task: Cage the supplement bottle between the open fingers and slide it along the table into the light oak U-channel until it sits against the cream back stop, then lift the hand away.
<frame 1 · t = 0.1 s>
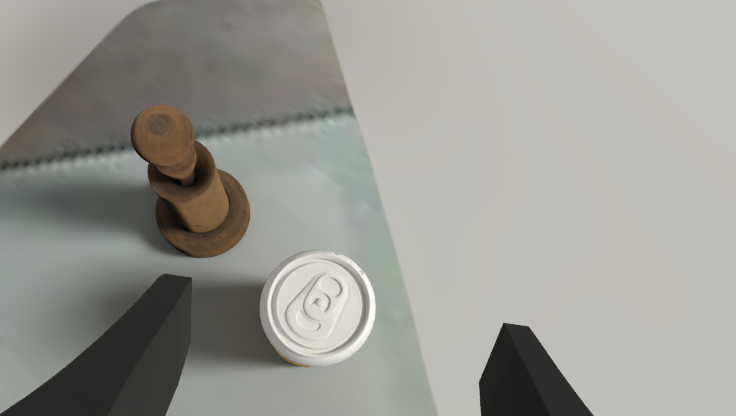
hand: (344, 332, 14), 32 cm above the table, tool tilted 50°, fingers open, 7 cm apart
beer can: (309, 325, 45), on the table
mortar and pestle: (206, 216, 46), on the table
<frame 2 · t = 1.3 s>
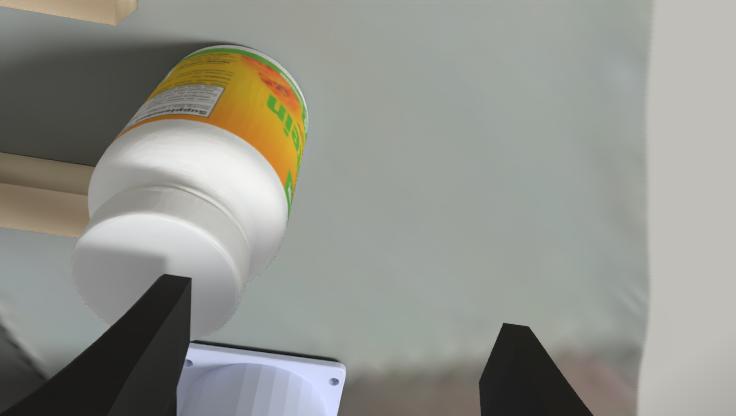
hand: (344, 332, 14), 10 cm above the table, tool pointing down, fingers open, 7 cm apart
supplement bottle: (237, 110, 23), on the table
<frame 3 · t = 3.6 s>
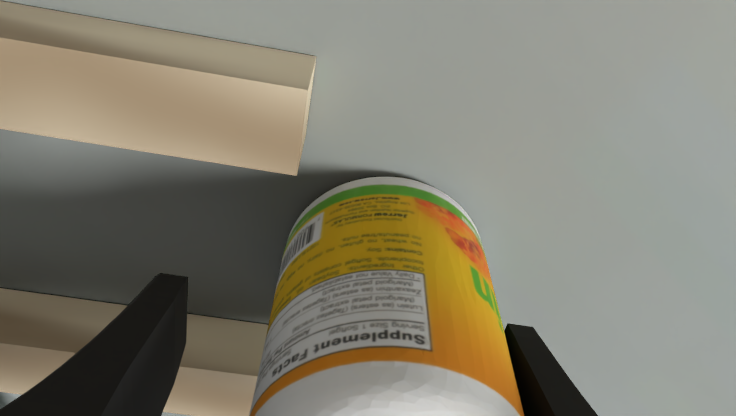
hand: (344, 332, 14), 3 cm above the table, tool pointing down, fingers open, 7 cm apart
supplement bottle: (383, 250, 17), on the table, touching gripper
slide channel: (46, 204, 16), on the table
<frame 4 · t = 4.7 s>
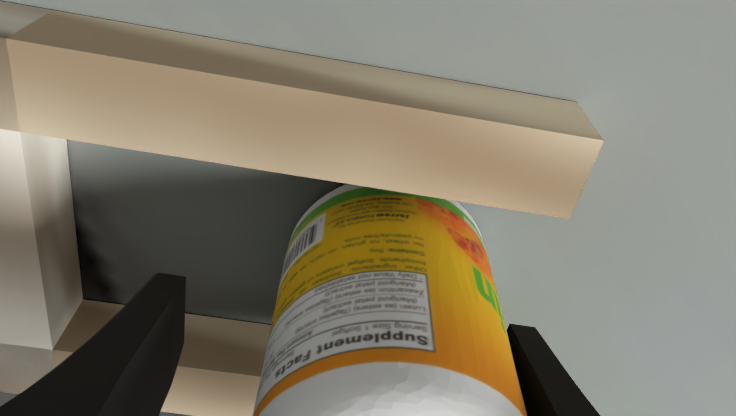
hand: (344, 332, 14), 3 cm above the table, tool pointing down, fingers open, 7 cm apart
supplement bottle: (385, 250, 17), on the table, touching gripper
slide channel: (280, 239, 17), on the table
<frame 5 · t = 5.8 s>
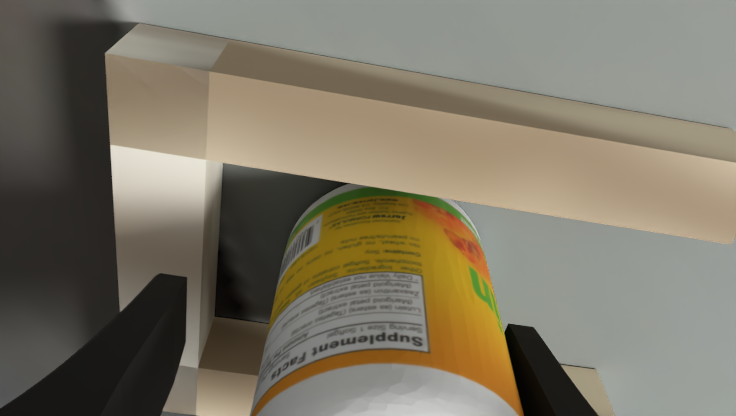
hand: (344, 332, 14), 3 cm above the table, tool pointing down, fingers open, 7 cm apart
supplement bottle: (383, 251, 17), on the table, touching gripper
slide channel: (418, 259, 17), on the table
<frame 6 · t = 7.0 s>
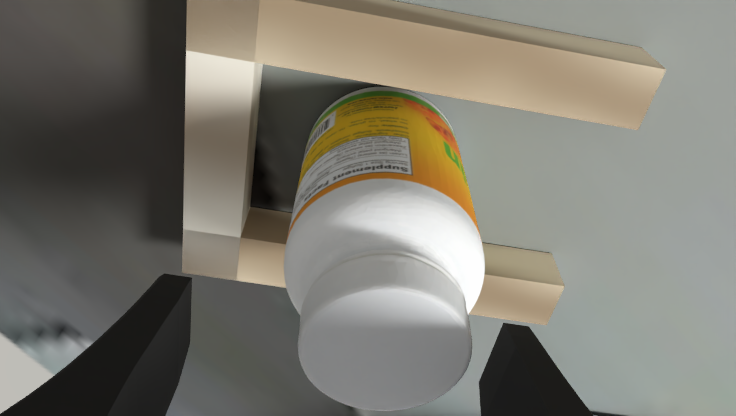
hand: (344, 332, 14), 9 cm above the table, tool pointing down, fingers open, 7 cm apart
supplement bottle: (381, 150, 22), on the table
slide channel: (409, 156, 22), on the table
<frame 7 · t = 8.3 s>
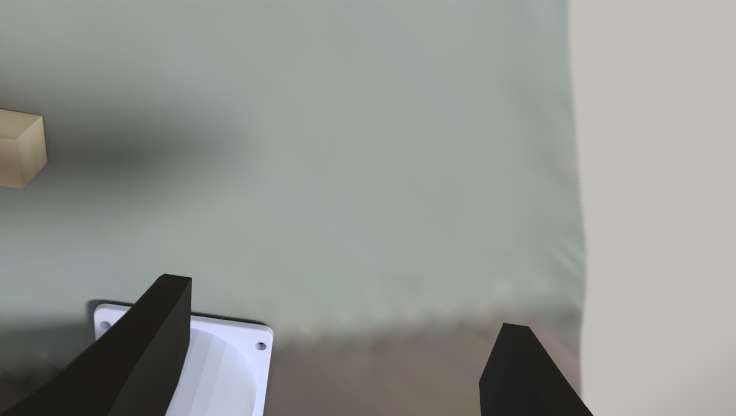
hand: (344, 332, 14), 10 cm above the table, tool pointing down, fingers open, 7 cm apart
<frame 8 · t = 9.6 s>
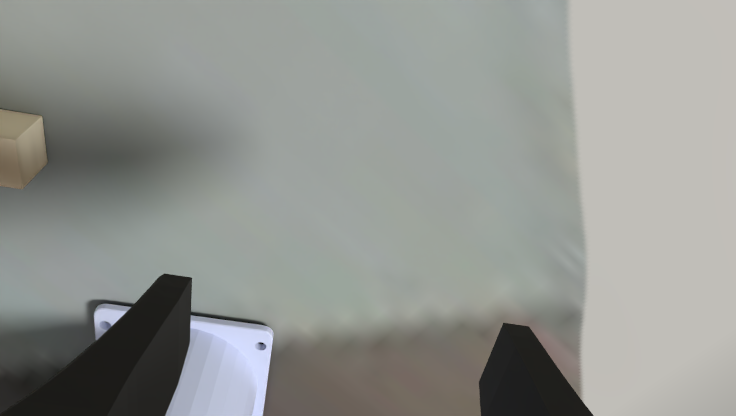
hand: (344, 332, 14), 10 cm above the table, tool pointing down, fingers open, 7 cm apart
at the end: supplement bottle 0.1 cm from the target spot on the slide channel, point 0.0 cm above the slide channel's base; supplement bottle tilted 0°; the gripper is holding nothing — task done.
